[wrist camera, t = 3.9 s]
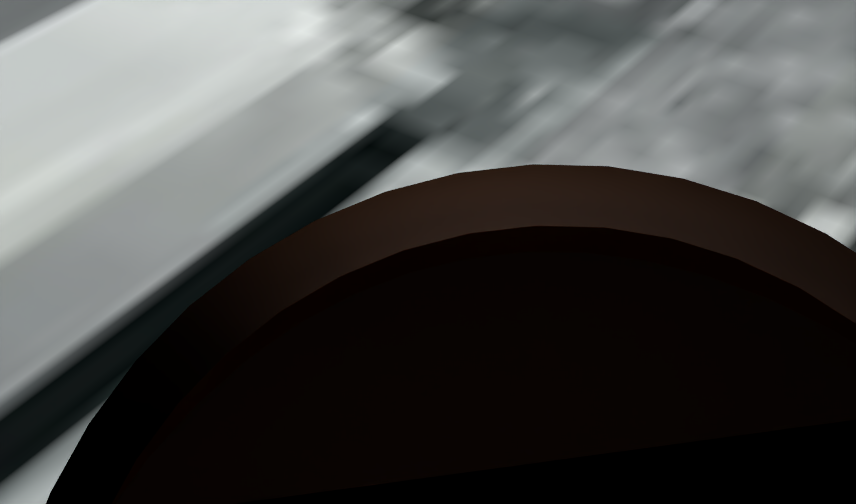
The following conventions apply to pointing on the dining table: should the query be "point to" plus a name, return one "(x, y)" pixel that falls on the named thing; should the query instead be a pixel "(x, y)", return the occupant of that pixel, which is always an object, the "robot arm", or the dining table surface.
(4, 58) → the dining table surface
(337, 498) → the robot arm
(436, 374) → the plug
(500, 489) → the square wooden holder
